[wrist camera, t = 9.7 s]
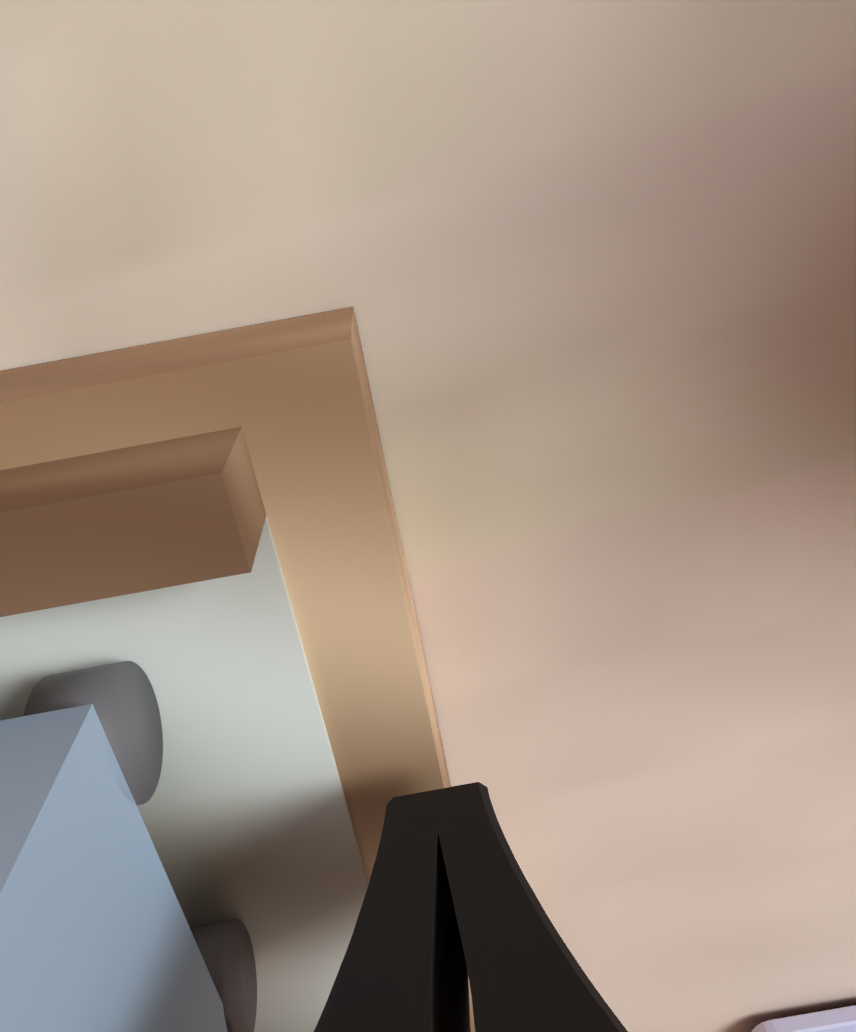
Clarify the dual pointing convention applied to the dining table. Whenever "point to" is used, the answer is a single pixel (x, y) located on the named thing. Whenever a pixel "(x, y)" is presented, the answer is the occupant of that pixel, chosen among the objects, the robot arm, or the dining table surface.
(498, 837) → the robot arm
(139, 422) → the dock
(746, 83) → the dining table surface
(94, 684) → the blue block with feet
